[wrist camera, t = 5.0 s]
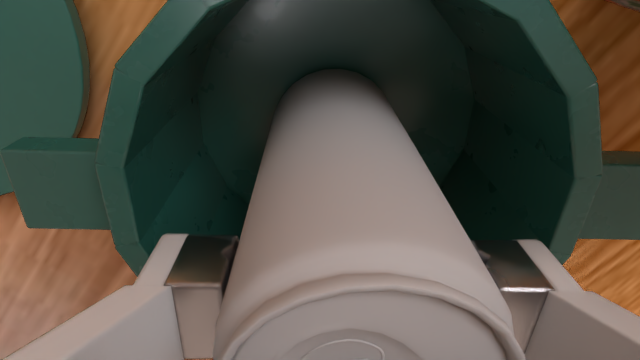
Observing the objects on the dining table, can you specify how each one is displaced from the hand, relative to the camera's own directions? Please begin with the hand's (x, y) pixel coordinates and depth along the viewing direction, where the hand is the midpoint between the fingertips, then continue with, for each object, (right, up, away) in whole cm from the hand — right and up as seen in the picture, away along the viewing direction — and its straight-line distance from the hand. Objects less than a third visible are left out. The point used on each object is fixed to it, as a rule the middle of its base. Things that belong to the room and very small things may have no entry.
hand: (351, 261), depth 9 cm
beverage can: (0, +4, +8) cm, 9 cm away
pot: (0, +4, +8) cm, 9 cm away
